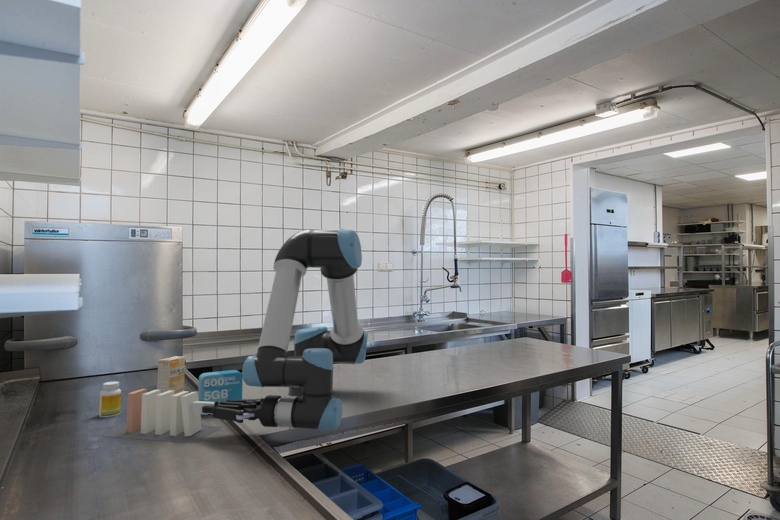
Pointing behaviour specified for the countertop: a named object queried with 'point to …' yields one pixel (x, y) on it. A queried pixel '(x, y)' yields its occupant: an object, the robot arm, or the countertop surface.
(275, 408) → the robot arm
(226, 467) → the countertop surface
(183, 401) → the domino
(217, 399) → the data package
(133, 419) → the domino
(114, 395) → the supplement bottle
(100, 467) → the countertop surface
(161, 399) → the domino
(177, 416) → the domino
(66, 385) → the countertop surface
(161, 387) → the supplement box
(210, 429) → the mat
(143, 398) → the domino
